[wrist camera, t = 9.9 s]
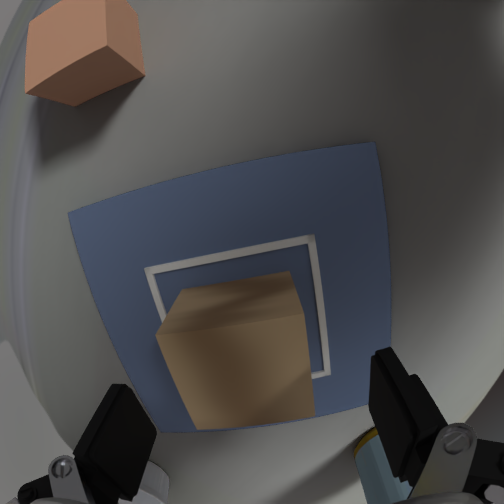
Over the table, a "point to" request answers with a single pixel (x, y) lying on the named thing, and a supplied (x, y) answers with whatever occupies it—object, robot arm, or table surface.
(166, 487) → the ramekin
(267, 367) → the oak block
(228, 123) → the table surface
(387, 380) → the robot arm
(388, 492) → the bottle
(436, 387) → the table surface
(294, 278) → the board
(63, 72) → the terracotta cube
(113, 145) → the table surface
